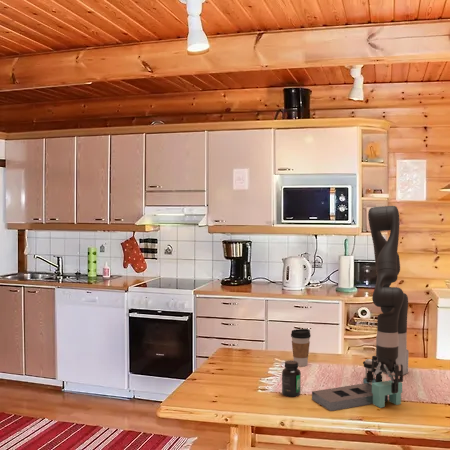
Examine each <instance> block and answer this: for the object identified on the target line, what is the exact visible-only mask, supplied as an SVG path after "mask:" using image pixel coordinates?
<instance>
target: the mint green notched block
mask: <svg viewBox="0 0 450 450" xmlns="http://www.w3.org/2000/svg"><path fill="white" fill-rule="evenodd" d="M391 383H392V381H391V379H389V380H384V381H383V380H382V382H376V383H372V393H373V404H372V405H374V406H376V407H378V408H380V409H382V408H385V406H386V405H385V404H386V402H385V396H386V395H388V402H390V403H392V404H394V405H395V406H397V405H401V404H402V393H403V382H399V383H398V393H395V394H393V393H391Z"/></svg>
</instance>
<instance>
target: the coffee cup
mask: <svg viewBox="0 0 450 450" xmlns="http://www.w3.org/2000/svg"><path fill="white" fill-rule="evenodd" d="M290 337H291V347H292V349H291V350H292V358H293V360H292V361H297V362H298V367H306V366H307V367H308V365H309V363H308V362H309V361H308V360H309V352H310V343H311V341H310V338H311V330H310V329H308V328H298V329H296V328H295V329H293V330H291V333H290Z"/></svg>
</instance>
